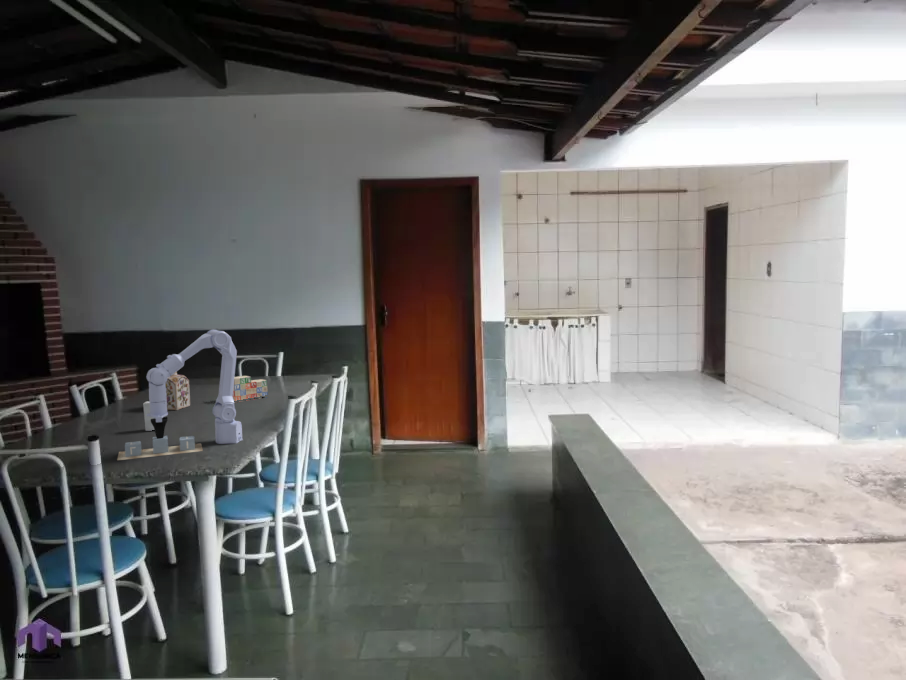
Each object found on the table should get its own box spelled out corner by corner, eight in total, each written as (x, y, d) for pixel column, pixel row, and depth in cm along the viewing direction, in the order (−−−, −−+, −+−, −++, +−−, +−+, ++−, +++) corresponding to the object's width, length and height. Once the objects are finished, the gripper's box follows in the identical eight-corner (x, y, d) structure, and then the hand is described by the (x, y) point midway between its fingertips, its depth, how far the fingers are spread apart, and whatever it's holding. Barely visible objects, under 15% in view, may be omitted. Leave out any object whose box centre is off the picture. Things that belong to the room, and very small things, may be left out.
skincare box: (163, 428, 280) (161, 400, 278) (159, 430, 275) (158, 402, 274) (148, 428, 279) (146, 400, 278) (144, 431, 274) (142, 403, 273)
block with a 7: (141, 451, 239) (140, 440, 238) (141, 455, 234) (140, 444, 234) (126, 453, 237) (125, 442, 236) (125, 457, 232) (124, 445, 232)
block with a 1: (194, 446, 246) (193, 435, 245) (195, 449, 241) (194, 438, 241) (180, 447, 244) (179, 437, 243) (180, 451, 239) (179, 440, 239)
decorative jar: (177, 410, 317) (175, 373, 315) (155, 410, 319) (153, 373, 317) (191, 405, 328) (189, 370, 326) (170, 405, 330) (168, 369, 329)
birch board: (201, 445, 250) (201, 443, 250) (202, 453, 239) (202, 450, 239) (119, 454, 239) (119, 451, 239) (117, 463, 228) (116, 460, 228)
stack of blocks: (262, 396, 354) (261, 373, 352) (268, 397, 349) (267, 374, 348) (224, 401, 339) (223, 378, 338) (229, 403, 335) (228, 379, 333)
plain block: (168, 448, 242) (167, 435, 242) (168, 452, 238) (167, 438, 237) (153, 450, 240) (152, 437, 240) (153, 453, 236) (152, 440, 235)
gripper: (146, 398, 242) (148, 434, 243) (145, 405, 229) (147, 443, 230) (167, 397, 245) (169, 432, 246) (167, 403, 232) (169, 441, 233)
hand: (160, 437), depth 238 cm, fingers closed
